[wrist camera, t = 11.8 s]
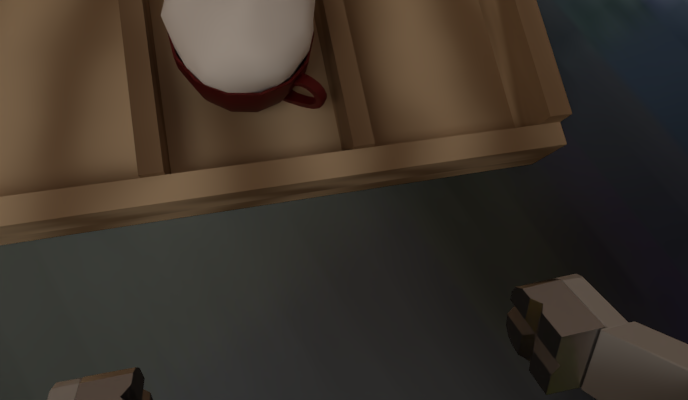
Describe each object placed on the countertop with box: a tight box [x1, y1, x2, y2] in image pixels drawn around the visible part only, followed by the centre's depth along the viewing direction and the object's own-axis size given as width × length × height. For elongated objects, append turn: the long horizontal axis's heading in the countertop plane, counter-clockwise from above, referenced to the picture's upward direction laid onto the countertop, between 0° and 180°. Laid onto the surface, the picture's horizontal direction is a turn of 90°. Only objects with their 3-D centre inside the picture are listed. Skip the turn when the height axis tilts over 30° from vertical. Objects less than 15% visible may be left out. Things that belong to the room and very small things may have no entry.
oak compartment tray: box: [0, 0, 572, 245], centre depth 24 cm, size 30×14×4 cm, turn 101°
